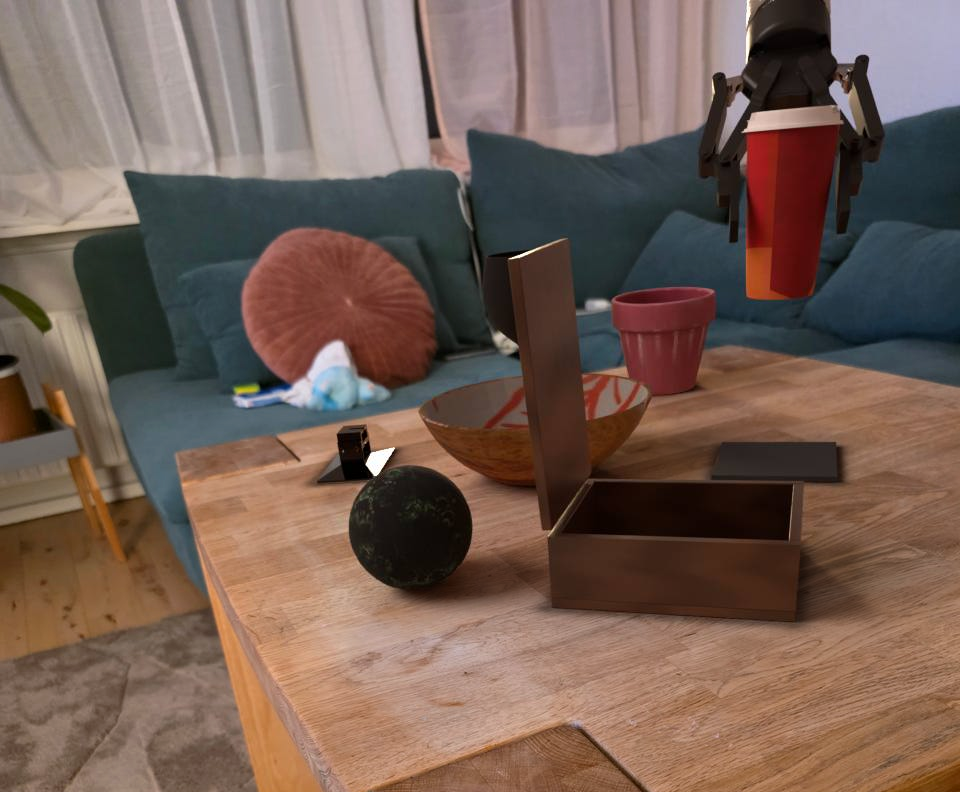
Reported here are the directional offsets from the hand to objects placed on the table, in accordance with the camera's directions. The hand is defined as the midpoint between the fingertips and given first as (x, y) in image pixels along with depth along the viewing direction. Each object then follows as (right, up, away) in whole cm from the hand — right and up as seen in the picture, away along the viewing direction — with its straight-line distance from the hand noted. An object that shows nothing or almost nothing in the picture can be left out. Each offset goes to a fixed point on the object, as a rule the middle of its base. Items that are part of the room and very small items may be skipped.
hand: (787, 227), depth 78 cm
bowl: (-20, -17, +22) cm, 34 cm away
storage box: (-11, -31, -7) cm, 34 cm away
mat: (+4, -17, +16) cm, 24 cm away
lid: (-21, -17, -11) cm, 29 cm away
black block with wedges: (-42, -15, +30) cm, 54 cm away
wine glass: (-20, -2, +51) cm, 54 cm away
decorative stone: (-32, -32, -3) cm, 45 cm away
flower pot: (0, 0, +51) cm, 51 cm away
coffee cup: (+1, -4, +6) cm, 7 cm away
